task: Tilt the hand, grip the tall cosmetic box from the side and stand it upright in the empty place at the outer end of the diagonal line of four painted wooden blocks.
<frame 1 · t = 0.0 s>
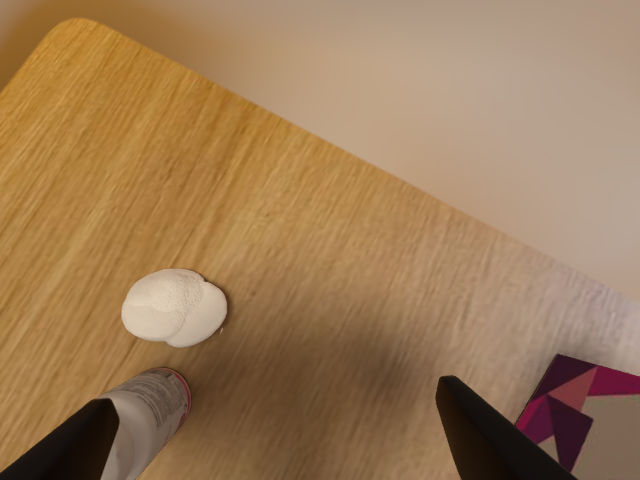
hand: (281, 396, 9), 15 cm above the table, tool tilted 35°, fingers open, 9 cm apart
pill bottle: (160, 400, 22), on the table
dumpling: (189, 303, 23), on the table
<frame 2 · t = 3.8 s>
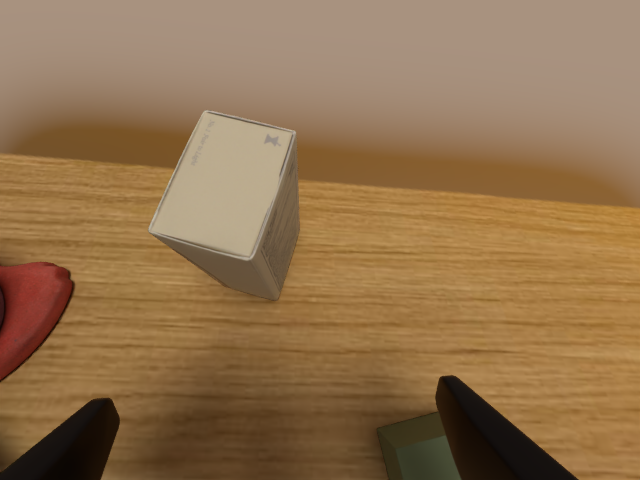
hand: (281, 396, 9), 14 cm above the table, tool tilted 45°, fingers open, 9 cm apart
cosmetic box: (264, 259, 24), on the table
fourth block: (419, 458, 20), on the table
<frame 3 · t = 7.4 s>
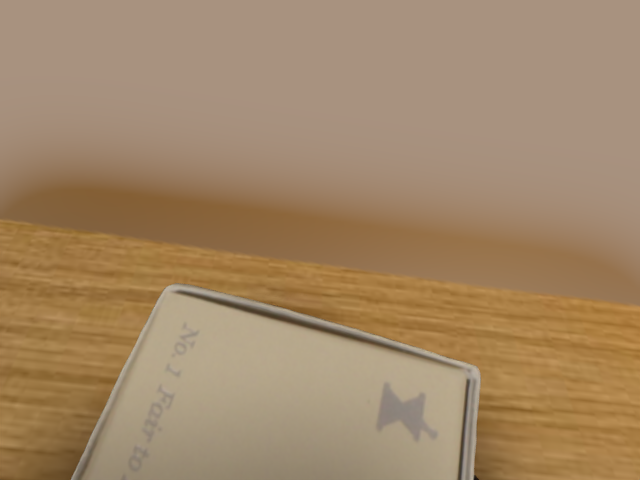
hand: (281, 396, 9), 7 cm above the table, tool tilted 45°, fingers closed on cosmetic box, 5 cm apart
cosmetic box: (291, 408, 14), on the table, touching gripper
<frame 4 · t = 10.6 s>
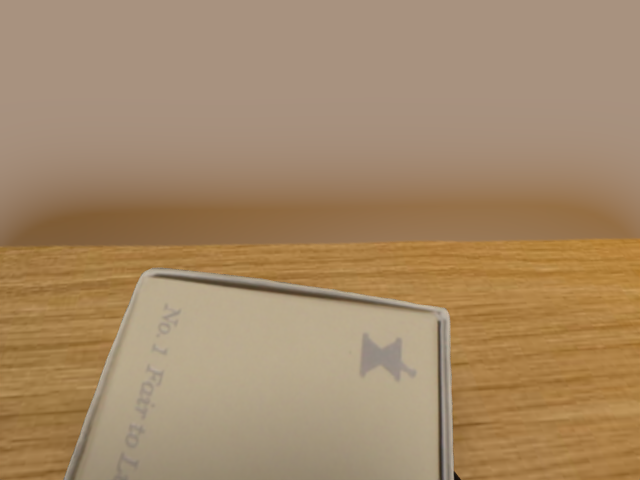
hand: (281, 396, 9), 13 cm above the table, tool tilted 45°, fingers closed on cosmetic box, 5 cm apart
cosmetic box: (288, 401, 15), point 6 cm above the table, touching gripper
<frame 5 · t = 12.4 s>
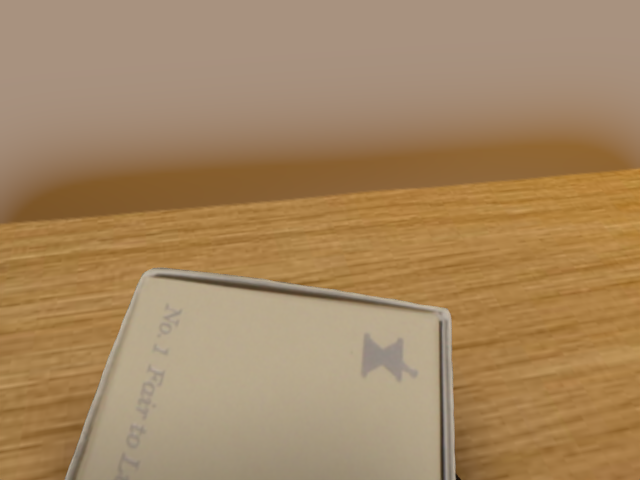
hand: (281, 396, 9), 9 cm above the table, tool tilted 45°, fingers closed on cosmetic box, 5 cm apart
cosmetic box: (289, 401, 15), point 2 cm above the table, touching gripper
when the fingers open (7 cm above the table, at t = 13.6 s): cosmetic box stays where it is, on the table.
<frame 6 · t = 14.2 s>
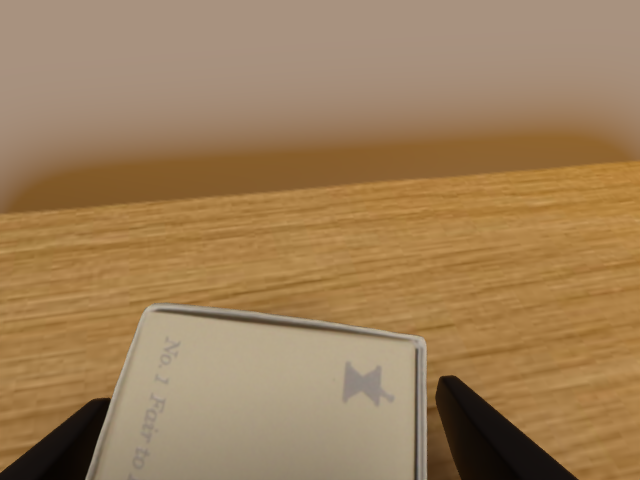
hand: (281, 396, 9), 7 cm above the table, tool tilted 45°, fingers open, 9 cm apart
cosmetic box: (291, 404, 15), on the table
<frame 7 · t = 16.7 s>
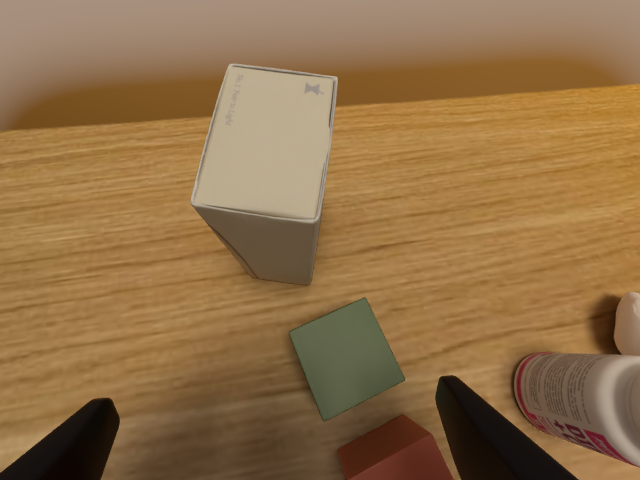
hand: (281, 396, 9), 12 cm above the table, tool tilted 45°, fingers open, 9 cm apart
cosmetic box: (289, 243, 22), on the table
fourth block: (337, 353, 20), on the table
pill bottle: (546, 391, 20), on the table
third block: (388, 471, 18), on the table
dumpling: (630, 347, 21), on the table
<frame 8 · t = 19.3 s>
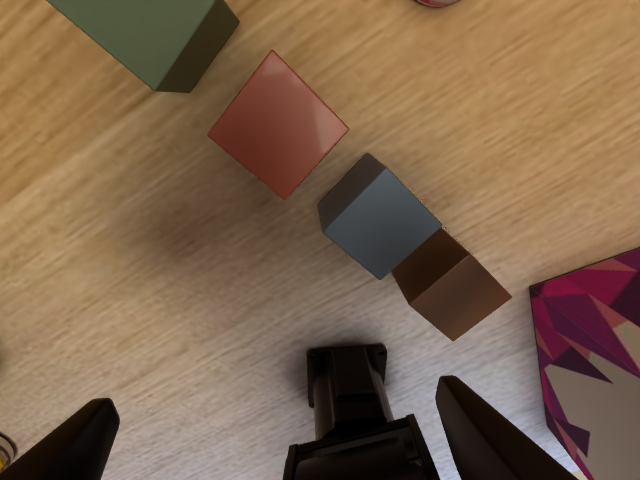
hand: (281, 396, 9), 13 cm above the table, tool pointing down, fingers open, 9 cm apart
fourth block: (176, 23, 15), on the table
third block: (283, 124, 18), on the table
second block: (365, 202, 20), on the table
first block: (431, 264, 22), on the table
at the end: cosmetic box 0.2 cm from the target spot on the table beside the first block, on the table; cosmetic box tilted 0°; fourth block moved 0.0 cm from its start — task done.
